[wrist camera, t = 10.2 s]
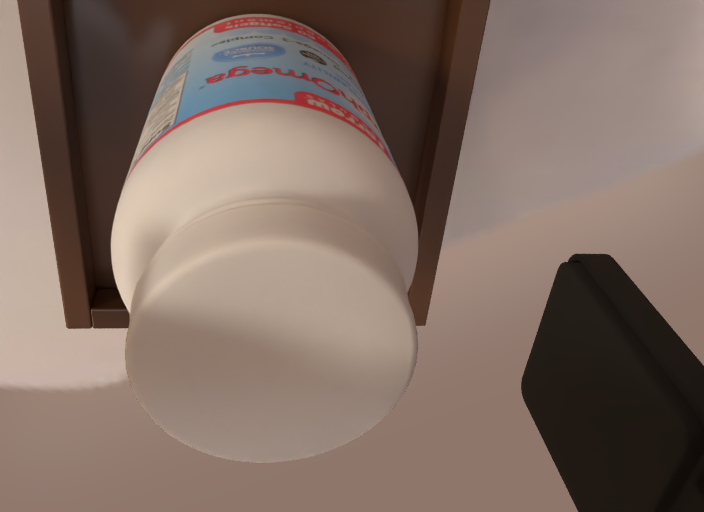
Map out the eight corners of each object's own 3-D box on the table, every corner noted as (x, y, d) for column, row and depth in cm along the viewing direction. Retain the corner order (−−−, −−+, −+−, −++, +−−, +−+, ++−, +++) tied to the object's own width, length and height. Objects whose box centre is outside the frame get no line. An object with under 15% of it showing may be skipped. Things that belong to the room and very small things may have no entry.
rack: (79, -183, 23) (-13, -190, 14) (420, -143, 25) (516, -128, 16) (113, 188, 30) (65, 329, 22) (375, 194, 32) (425, 326, 24)
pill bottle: (398, 73, 20) (542, 290, 11) (299, 233, 22) (345, 525, 13) (207, -37, 18) (176, 117, 8) (121, 155, 20) (19, 442, 11)
